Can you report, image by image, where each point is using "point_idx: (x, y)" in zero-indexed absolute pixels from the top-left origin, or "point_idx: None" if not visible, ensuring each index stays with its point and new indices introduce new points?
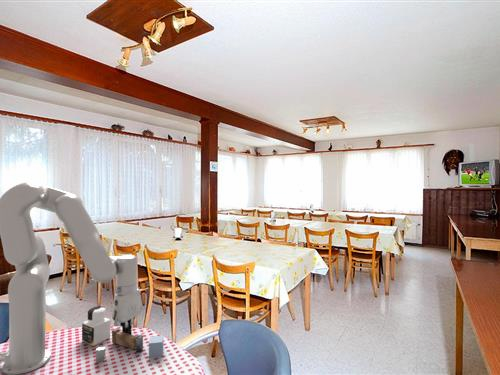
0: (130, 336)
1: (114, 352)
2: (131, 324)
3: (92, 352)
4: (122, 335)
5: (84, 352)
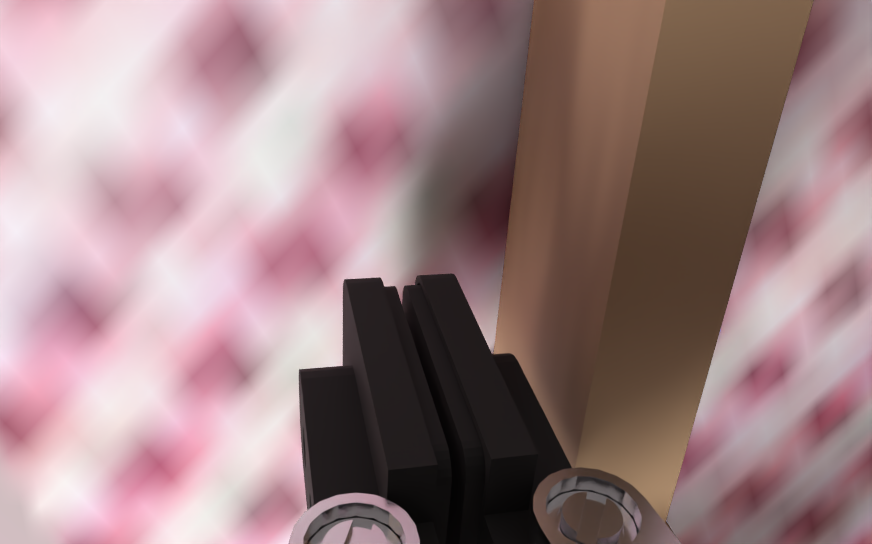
0: (746, 57)
1: (790, 162)
2: (355, 519)
3: (834, 442)
4: (713, 325)
5: (845, 514)
